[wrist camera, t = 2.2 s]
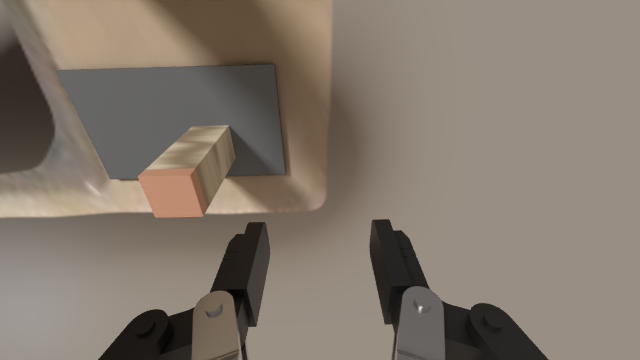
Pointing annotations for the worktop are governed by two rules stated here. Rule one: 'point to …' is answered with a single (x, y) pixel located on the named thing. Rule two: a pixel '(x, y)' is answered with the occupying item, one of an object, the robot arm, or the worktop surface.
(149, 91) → the rubber mat
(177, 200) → the birch block
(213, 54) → the worktop surface
